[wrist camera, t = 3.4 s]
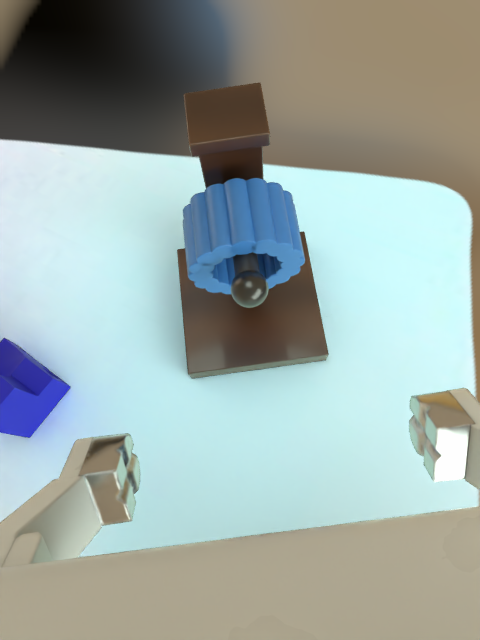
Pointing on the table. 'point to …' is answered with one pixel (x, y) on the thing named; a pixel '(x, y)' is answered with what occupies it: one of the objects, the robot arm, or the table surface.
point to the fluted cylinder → (241, 233)
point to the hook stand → (248, 284)
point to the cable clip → (25, 391)
